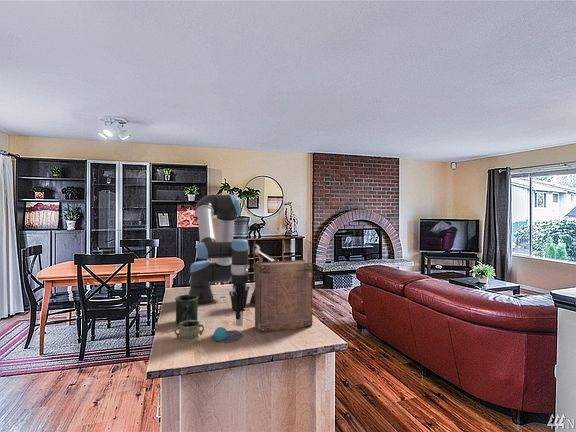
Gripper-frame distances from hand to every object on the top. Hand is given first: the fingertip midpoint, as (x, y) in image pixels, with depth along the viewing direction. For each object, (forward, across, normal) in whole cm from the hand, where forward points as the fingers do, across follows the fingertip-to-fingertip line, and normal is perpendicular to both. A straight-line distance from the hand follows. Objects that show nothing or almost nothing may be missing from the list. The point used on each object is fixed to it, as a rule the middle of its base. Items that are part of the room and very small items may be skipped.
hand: (239, 325), depth 154 cm
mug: (+2, -4, +27) cm, 28 cm away
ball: (-1, -14, 0) cm, 14 cm away
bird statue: (+2, +43, +12) cm, 45 cm away
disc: (+2, -9, 0) cm, 9 cm away
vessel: (+2, -18, +13) cm, 22 cm away
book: (+2, +13, -16) cm, 21 cm away
